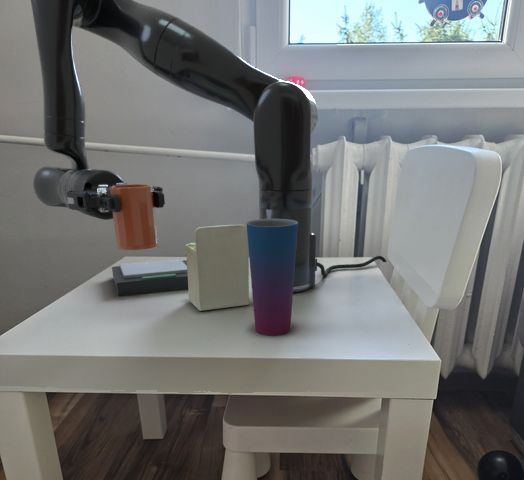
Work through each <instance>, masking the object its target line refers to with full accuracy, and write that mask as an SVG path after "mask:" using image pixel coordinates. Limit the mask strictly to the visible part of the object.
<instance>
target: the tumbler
mask: <svg viewBox="0 0 524 480" xmlns="http://www.w3.org/2000/svg"><path fill="white" fill-rule="evenodd" d="M127 184H128V185H115V186H110V187H109V191H110V194H113V195H118V197H119V202H120V212H112V214H113V219H112V221H113V226H114V227H113V229H114V236H115V243H116V248H117V249H119V250H123V251H141V250H142V251H143V250H149V249H153V248H156V247H158V245H159V242H158V241H159V240H158V230H157V229H158V227H157V219H156V209H155V208H156V207H154V198H153V188H152V186H153V185H152V184H147V183H130V184H129V183H127Z"/></svg>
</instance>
